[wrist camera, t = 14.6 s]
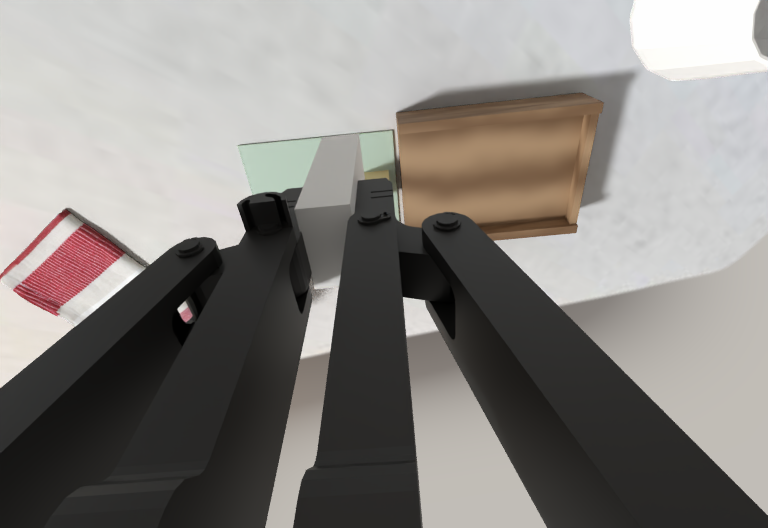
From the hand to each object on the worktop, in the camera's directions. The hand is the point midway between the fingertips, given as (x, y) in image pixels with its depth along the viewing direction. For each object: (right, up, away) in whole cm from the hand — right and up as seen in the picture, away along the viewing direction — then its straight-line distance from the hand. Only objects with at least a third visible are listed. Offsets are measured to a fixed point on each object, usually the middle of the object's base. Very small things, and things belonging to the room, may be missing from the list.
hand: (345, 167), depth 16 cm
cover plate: (-6, +6, +31) cm, 32 cm away
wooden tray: (+14, +7, +30) cm, 33 cm away
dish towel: (-38, -8, +40) cm, 56 cm away
